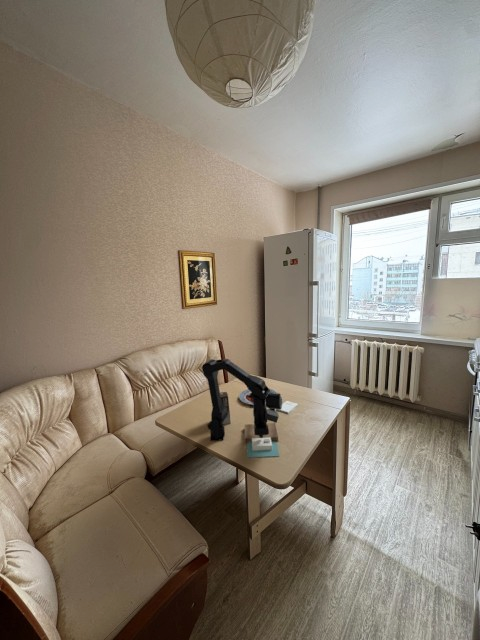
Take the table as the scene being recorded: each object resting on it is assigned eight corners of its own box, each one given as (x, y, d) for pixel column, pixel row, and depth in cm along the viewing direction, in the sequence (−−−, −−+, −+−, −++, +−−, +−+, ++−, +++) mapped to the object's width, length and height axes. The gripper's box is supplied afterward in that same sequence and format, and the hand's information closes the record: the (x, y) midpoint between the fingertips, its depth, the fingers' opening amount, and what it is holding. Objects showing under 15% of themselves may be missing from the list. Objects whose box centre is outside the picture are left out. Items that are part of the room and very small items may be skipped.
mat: (247, 457, 106) (247, 457, 106) (247, 443, 116) (247, 442, 116) (279, 456, 106) (279, 455, 106) (276, 441, 116) (276, 441, 116)
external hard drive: (276, 411, 146) (286, 402, 155) (288, 414, 140) (298, 406, 150) (276, 408, 145) (286, 400, 155) (288, 412, 140) (298, 403, 149)
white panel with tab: (252, 450, 110) (252, 445, 110) (252, 442, 116) (251, 437, 116) (272, 449, 110) (272, 444, 110) (270, 441, 116) (270, 436, 116)
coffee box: (229, 417, 141) (227, 391, 139) (230, 423, 134) (228, 396, 132) (213, 419, 139) (211, 393, 137) (214, 425, 133) (211, 398, 131)
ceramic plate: (244, 410, 148) (244, 406, 147) (235, 393, 173) (235, 389, 172) (284, 403, 153) (283, 399, 153) (269, 387, 178) (269, 384, 178)
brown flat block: (245, 442, 117) (244, 438, 116) (245, 428, 129) (244, 424, 128) (278, 441, 116) (278, 436, 116) (275, 427, 128) (275, 423, 128)
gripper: (279, 416, 103) (281, 449, 105) (274, 396, 122) (275, 425, 124) (253, 417, 103) (255, 451, 105) (252, 397, 122) (254, 426, 124)
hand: (261, 437), depth 115 cm, fingers closed
